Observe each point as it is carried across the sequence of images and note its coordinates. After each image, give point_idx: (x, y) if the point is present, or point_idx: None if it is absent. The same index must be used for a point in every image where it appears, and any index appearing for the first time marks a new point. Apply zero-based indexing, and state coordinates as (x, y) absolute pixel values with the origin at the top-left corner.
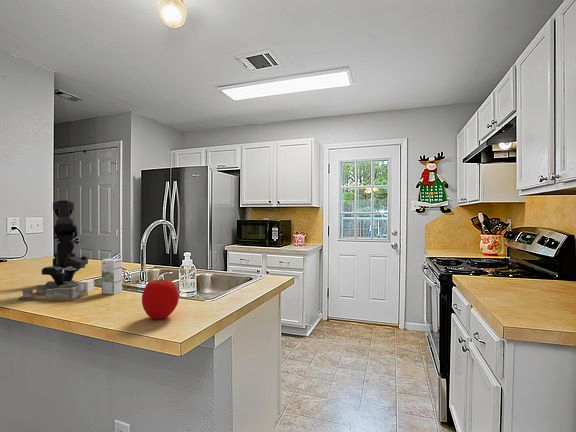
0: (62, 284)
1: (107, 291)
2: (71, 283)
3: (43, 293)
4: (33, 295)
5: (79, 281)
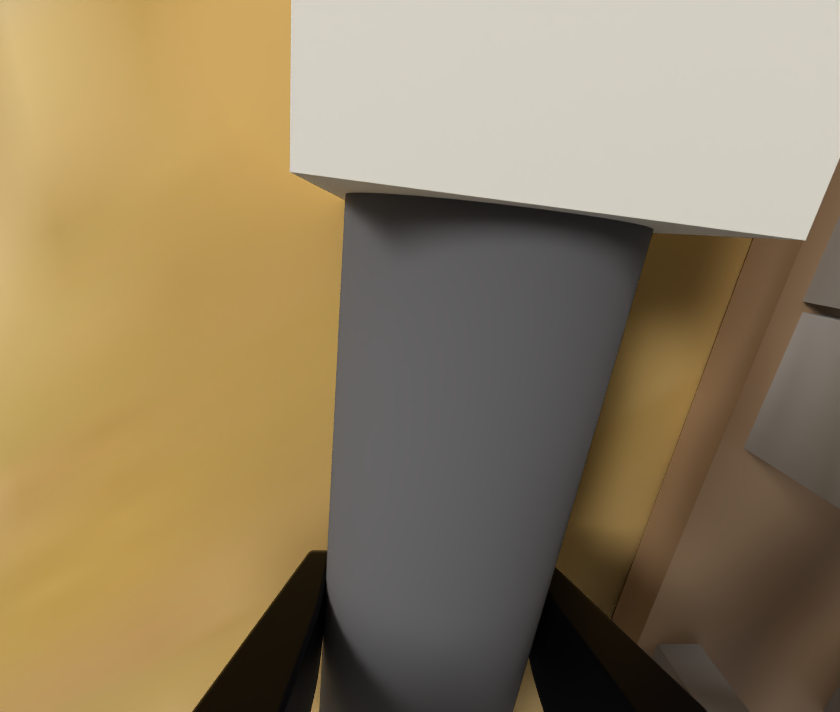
0: (596, 624)
1: None
2: (573, 475)
3: (727, 629)
4: (809, 665)
5: (699, 200)
